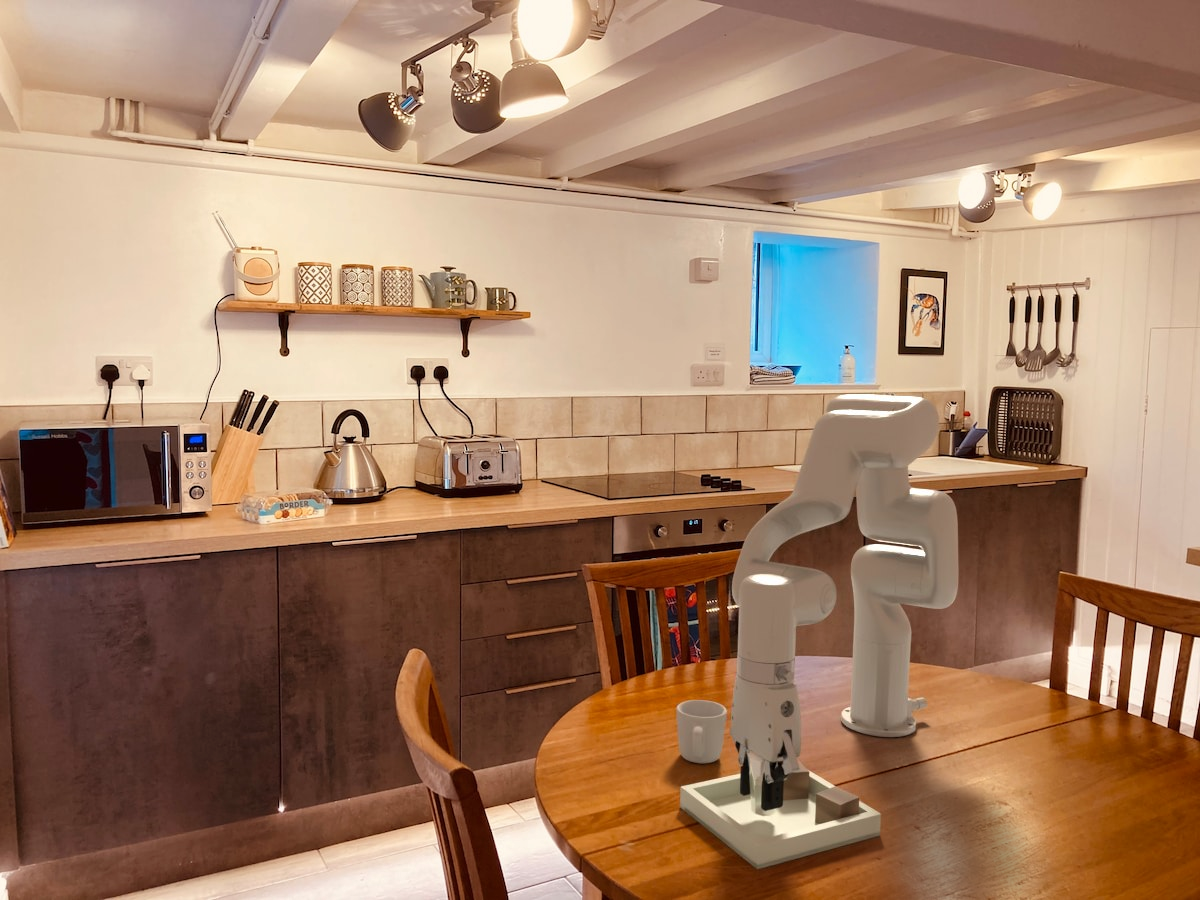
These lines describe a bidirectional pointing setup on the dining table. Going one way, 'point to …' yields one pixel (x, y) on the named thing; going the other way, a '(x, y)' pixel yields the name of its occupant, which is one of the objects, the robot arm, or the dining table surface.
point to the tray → (773, 822)
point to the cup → (701, 730)
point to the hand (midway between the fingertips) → (761, 799)
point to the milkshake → (757, 782)
